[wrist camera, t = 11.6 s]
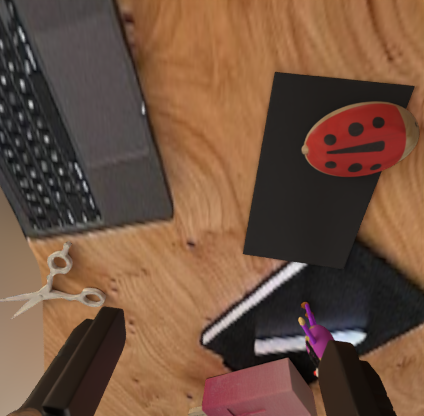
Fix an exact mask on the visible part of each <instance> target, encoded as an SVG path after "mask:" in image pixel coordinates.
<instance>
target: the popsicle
mask: <svg viewBox="0 0 424 416" xmlns="http://www.w3.org/2000/svg"><path fill="white" fill-rule="evenodd" d="M188 415H189V416H317V411H316V406H315V401H314V396H313V392H312V390H311V389H310V388H309V386H308V385H307V383H306V382H305V381H304V379H303V378H302V376H301V375H300V373H299V372H298V371H297V369H296V368H295V366H294V365H293V364H292V362H291V361H290V359H289V358H284V359H280V360H276V361H273V362H269V363H265V364H261V365H258V366H254V367H250V368H246V369H242V370H239V371H235V372H231V373H227V374H224V375H220V376H216V377H212V378H208V379H206V381H205V388H204V395H203V402H202V406H199V407H195V408H191V409H189V414H188Z"/></svg>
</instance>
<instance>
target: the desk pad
mask: <svg viewBox="0 0 424 416" xmlns="http://www.w3.org/2000/svg"><path fill="white" fill-rule="evenodd" d="M414 87H415V86H407V85H397V84H388V83H378V82H368V81H358V80H348V79H339V78H329V77H319V76H309V75H299V74H290V73H280V72H275V75H274V80H273V86H272V92H271V97H270V103H269V109H268V115H267V120H266V126H265V132H264V137H263V143H262V149H261V154H260V160H259V166H258V171H257V177H256V183H255V188H254V194H253V200H252V205H251V211H250V217H249V222H248V228H247V234H246V239H245V245H244V251H243V254H246V255H253V256H259V257H266V258H273V259H279V260H286V261H293V262H299V263H306V264H313V265H319V266H326V267H333V268H339V269H343V268H344V266H345V263H346V261H347V258H348V256H349V253H350V251H351V248H352V245H353V243H354V240H355V238H356V235H357V233H358V230H359V228H360V225H361V222H362V220H363V217H364V215H365V212H366V210H367V207H368V205H369V202H370V200H371V197H372V194H373V192H374V189H375V187H376V184H377V182H378V179H379V177H380V174H381V172H382V171H379V172H376V173H373V174H369V175H363V176H356V177H341V176H333V175H329V174H326V173H323V172H321V171H319V170H317V169H315V168H314V167H313V166H311V165H310V164H309V162H308V161H307V159H306V157H305V154H303V153H302V147H303V146H304V142H305V139H306V136H307V135H308V133H309V131H310V130H311V129H312V127H313V126H314V125H315V124H316V123H317V122H318V121H320V120H321V119H322V118H323V117H325V116H326V115H328V114H330V113H331V112H333V111H335V110H338V109H340V108H343V107H346V106H349V105H353V104H357V103H363V102H374V101H377V102H389V103H393V104H396V105H399V106H401V107H403V108H405V109H406V108H407V105H408V103H409V100H410V98H411V95H412V92H413V90H414Z"/></svg>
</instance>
